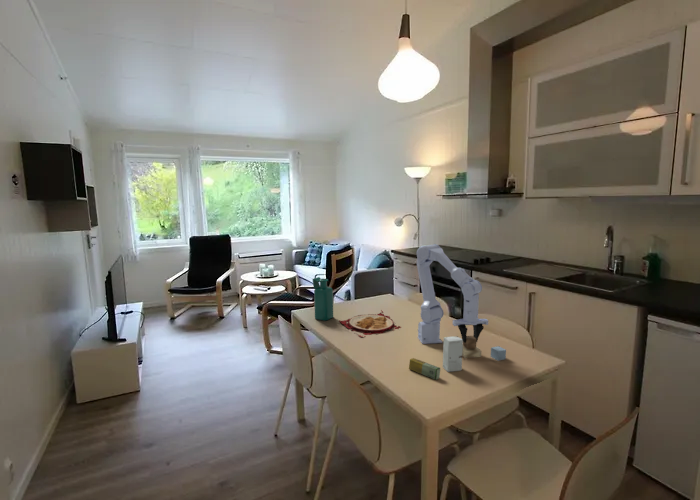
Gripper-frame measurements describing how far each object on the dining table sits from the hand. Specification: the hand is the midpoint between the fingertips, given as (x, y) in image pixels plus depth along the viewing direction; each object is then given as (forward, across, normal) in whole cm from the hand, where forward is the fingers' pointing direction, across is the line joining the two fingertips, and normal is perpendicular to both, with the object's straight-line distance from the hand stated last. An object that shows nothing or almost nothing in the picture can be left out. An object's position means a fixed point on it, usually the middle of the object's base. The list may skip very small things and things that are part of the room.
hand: (469, 341), depth 149 cm
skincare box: (+6, -12, -12) cm, 18 cm away
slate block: (+6, +10, -5) cm, 12 cm away
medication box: (+6, -24, -14) cm, 28 cm away
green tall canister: (+6, -60, +54) cm, 81 cm away
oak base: (+6, 0, 0) cm, 6 cm away
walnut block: (+2, 0, 0) cm, 2 cm away
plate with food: (+6, -35, +39) cm, 53 cm away
